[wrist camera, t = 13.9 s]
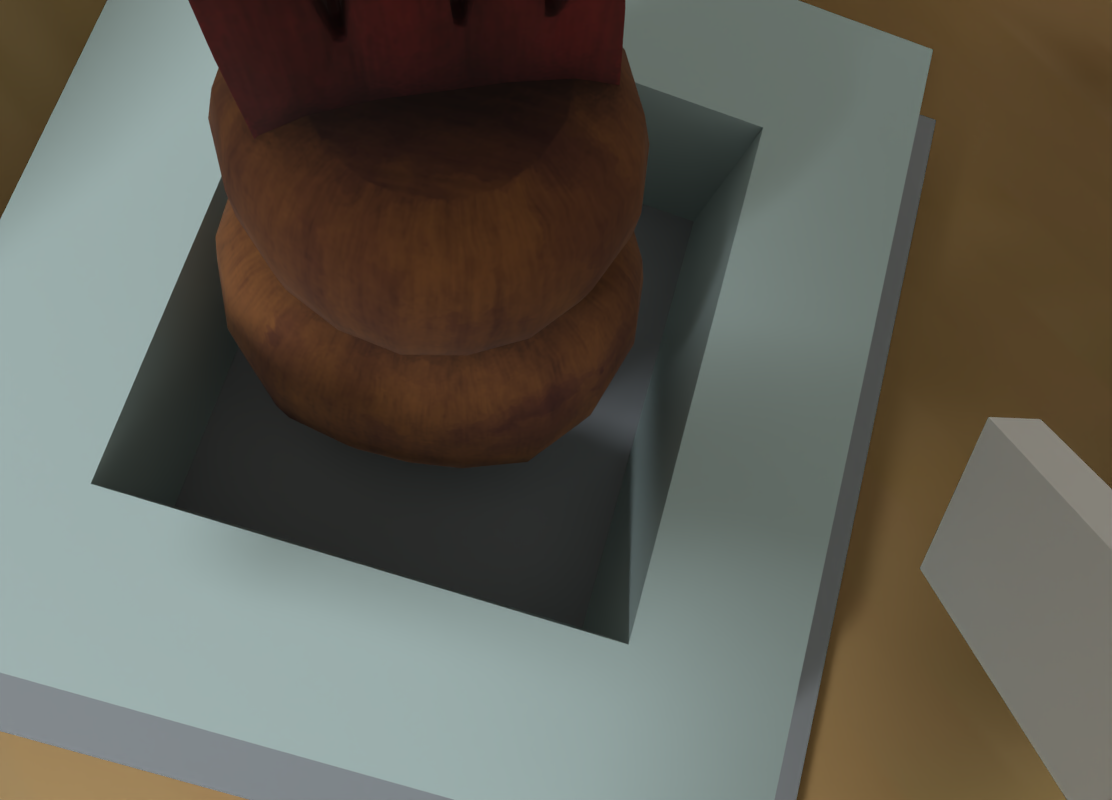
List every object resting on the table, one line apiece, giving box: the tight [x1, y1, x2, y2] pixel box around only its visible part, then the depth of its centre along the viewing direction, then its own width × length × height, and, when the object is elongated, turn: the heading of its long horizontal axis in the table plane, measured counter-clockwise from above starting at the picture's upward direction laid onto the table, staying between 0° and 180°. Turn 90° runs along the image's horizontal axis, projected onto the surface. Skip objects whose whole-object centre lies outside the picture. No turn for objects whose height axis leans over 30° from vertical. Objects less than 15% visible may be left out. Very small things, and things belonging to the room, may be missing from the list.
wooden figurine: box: [188, 0, 650, 468], centre depth 12 cm, size 7×6×15 cm
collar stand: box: [0, 0, 936, 800], centre depth 18 cm, size 20×20×6 cm
